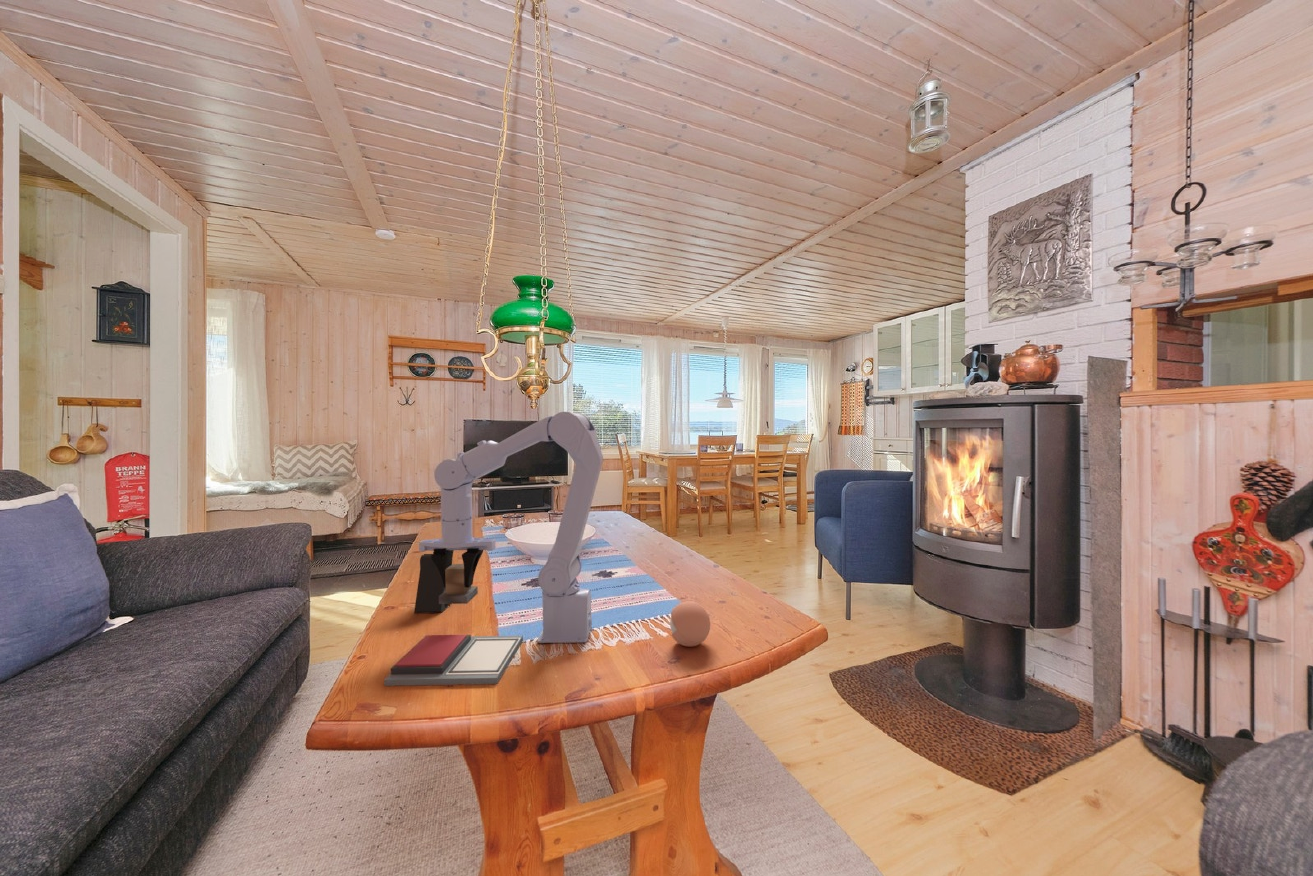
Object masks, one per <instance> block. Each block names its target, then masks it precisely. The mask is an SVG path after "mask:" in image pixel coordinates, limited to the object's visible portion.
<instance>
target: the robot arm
mask: <svg viewBox="0 0 1313 876" xmlns="http://www.w3.org/2000/svg"><path fill="white" fill-rule="evenodd" d="M540 442H555V444H557V445H559V446H560V447H561V448H562V449H564V450H565V451H566V452H567V453H568V455H569V456H570V458H571V459H572V461H573V462H574V464H575V466H574V470H573V474H572V479H571V481H570V485H569V489H568V493H567V495H566V496H567V497H566V501H565V503H564V508H563V512H562V515H561V519H560V523H559V526H558V530H557V534H556V538H555V541H554V544H553V546H552V548H551V550H550V553H549V554H548V558H547V560H546V563H545V564H544V565H543V566H542V568H541V569H540V570H539V571H538V572H539V573H538V575H537V581H538V585H539V587H540V589H541V591H542V595H541V596H542V631H540V635H538V638H537V640H536V641H537V643H538V644H551V643H552V644H554V643H555V644H556V643H557V644H559V643H560V644H561V643H562V644H564V643H567V644H571V643H587V642H588V639H589V636H590V633H591V630H592V625H593V623H592V622H593V621H592V593H591V589H588V588H587V589H586V588H582V587H580V584H579V580H578V579H577V577H578V576H579V574H580V573H581V571H582V562H581V553H582V550H583V549H582V540H583V536H584V534H585V530H586V526H587V522H588V518H589V514H590V510H591V507H592V503H593V499H594V495H595V492H596V488H597V485H598V480H599V478H600V477H599V476H600V473H601V469H602V466H603V462H604V456H603V452H602V448H601V446H600V443H599V438H598V435H597V428H596V426H595V425H594V424H593V422H592V421H591V420H590V419H589V418H588V416H586V415H585V414H584V413H581V412H570V411H560V412H557V413H556V414H554V415H553V416H552V415H550V416H547V417H544V418H542V419H540V420H537V421H536V422H534V423H532V424H530V425H529V426H527V427H525V428H522V429H521V430H520V431H517V432H516V433H515V434H512V435H511V436H509V437H507V438H504V439H503V440H502V441H500V442H497V441H494V440H481V441H479V442H477V443H476V444H477V446H476V447H474V448H472V449H470V450H468V451H465V452H464V451H461V452H458V453H457V454H456V458H454V459H452V458H446V459H443V460H442V462H440V463H438V464H437V466H435V470H434V475H433V477H434V481H435V482H436V484H437V485H438V486H439V487H440V519H441V522H440V523H441V525H440V526H441V538H434V539H432V538H431V539H423V540H420V541H419V542H418V552H421V553H422V552H426V551H433V553H431V554H432V555H431V559H432V561H433V562H434V563H435V565H436V567H437V568H438V570H439V573H440V575H441V578H442V581H443V585H444V588H446V582H445V569H447V568H448V567H449V566H451V565H452V564H453V558H454V557H453V556H454V551H465V552H464V553H462V554H461V558H462V562H463V563H462V564H464V570H465V587H470V586H472V585H473V583H474V577H475V573H476V570H477V566H478V564H479V561H480V559H481V557H482V555H483V552H484V551H488V552H489V551H490V552H492V551H493V550H495V549H496V538H485V537H484V538H480V537H474V536H473V533H474V532H473V499H472V498H473V496H472V495H473V494H472V492H473V491H472V490H473V489H472V487H473V483H474V482H475V481H476V480H478V479H480V478H482V477H484V476H486V475H488V474H490V473H492V472H494V471H496V470H498V469H500V468H502V467H504V466H505V465H506V461H507V458H508V457H510V456H512V455H514V454H516V453H518V452H521V451H523V450H525V449H528V448H529V447H531V446H534V445H536V444H538V443H540Z"/></svg>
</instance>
